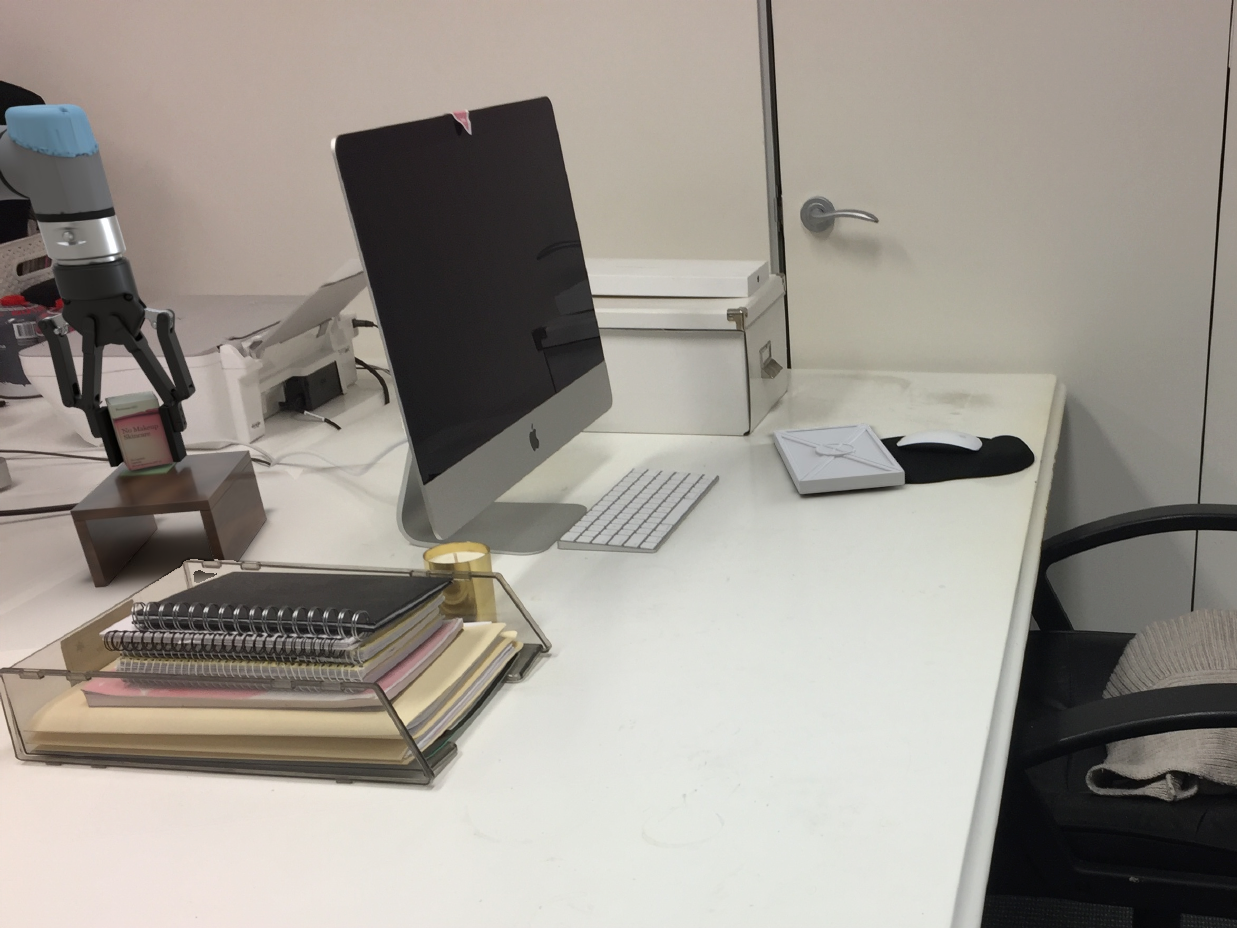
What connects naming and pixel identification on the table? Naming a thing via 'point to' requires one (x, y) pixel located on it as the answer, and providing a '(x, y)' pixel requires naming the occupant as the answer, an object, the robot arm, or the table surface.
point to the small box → (139, 429)
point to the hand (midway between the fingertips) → (149, 460)
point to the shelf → (169, 508)
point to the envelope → (837, 458)
